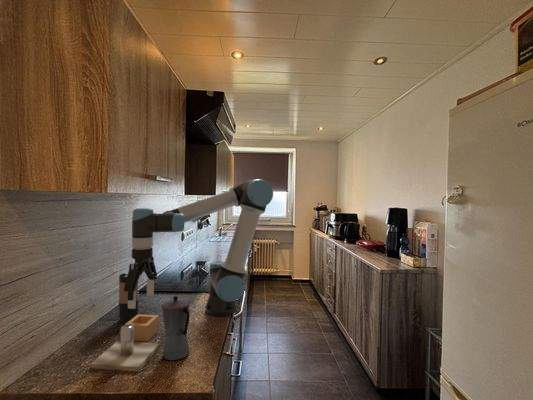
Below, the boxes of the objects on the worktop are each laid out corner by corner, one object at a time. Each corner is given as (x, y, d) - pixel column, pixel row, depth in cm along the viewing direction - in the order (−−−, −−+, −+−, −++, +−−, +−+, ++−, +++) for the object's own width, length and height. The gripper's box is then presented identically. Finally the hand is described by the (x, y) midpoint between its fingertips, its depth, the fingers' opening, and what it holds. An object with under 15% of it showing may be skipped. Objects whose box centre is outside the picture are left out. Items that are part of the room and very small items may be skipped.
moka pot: (176, 341, 107) (177, 289, 106) (202, 356, 97) (202, 299, 97) (153, 352, 99) (153, 296, 99) (178, 369, 90) (178, 307, 89)
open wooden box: (137, 328, 116) (137, 314, 116) (158, 330, 115) (158, 315, 115) (124, 340, 107) (124, 324, 107) (147, 341, 106) (147, 325, 106)
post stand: (117, 344, 104) (117, 316, 104) (159, 347, 102) (159, 319, 102) (90, 368, 90) (90, 335, 90) (138, 371, 88) (138, 338, 88)
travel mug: (130, 324, 120) (130, 277, 120) (114, 322, 122) (114, 276, 121) (141, 316, 127) (142, 272, 127) (127, 315, 129) (127, 271, 129)
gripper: (149, 242, 123) (148, 290, 124) (113, 253, 98) (112, 314, 99) (165, 242, 123) (165, 291, 123) (133, 254, 98) (132, 315, 98)
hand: (141, 301), depth 111 cm, fingers open, 13 cm apart
